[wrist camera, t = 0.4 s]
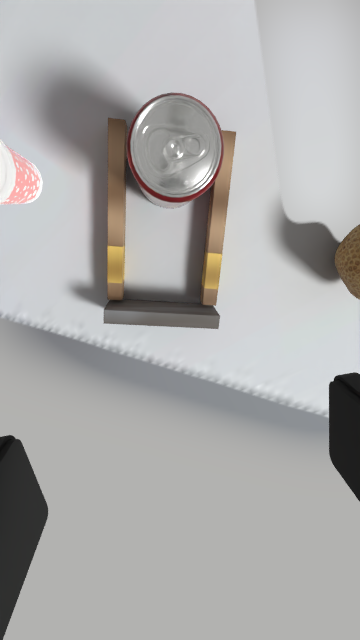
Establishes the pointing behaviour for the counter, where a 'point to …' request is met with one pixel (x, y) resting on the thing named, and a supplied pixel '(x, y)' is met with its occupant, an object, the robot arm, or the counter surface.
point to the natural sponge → (350, 261)
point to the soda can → (174, 149)
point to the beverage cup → (17, 178)
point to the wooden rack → (117, 306)
